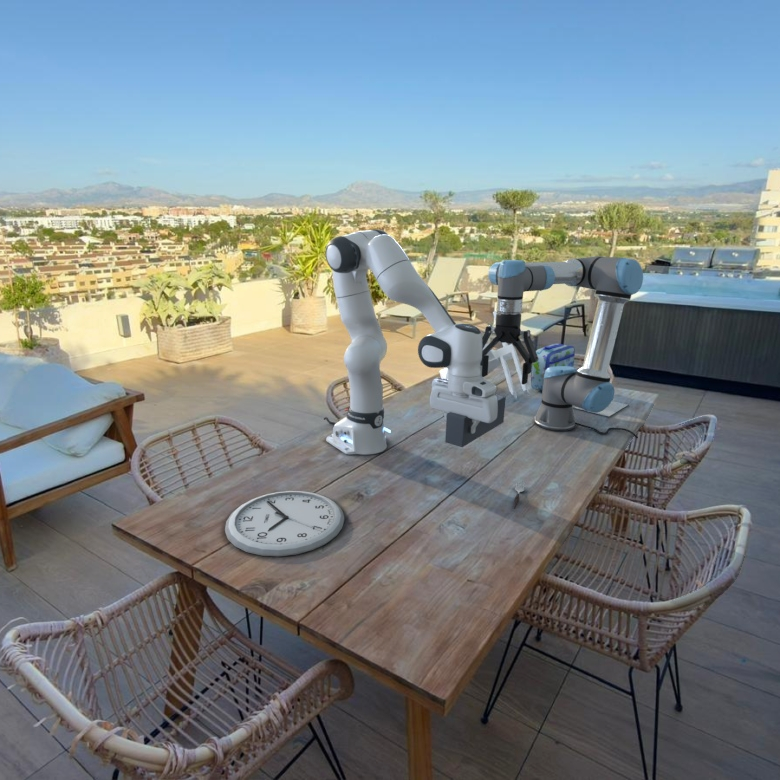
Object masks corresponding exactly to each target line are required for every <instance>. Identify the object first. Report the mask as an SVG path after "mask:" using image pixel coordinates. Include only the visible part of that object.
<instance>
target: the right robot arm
mask: <svg viewBox="0 0 780 780" xmlns="http://www.w3.org/2000/svg"><path fill="white" fill-rule="evenodd" d="M487 276H488V281H489V282H490V283H491V284H492V285H495V286H497V295H496V296H497V297H496V298H497V299H496V313H497V314H496V321H495V326H493V325H491V324H490V325H488V326H485V330H484V334H483V335H482V343H483V346H482V360H481V363H480V366H482V377H483V378H485V377H486V376H488V375H489V374H488V360H489V356H488V355H486V354H487V353H488V352H489V351H490V350H491V349H492V350H493V348H494V347H496V346H497V344H498V343H501V344H502V343H504V342H506V343H507V344H508V345H510V344H512V345H513V346H514V348H515V349H516V351H518V353H519V354H520V356H521V357H522V359H523V361H524V362H523V364H522V371H523V373H522V384H528V380H529V375H530V374H531V372H532V363H535V362H537V361H538V360H539V359H538V356H537V353H536V351H537V350H536V348H535V345H534V343H533V340H532V338H531V330H530V329H528V330H522V329H521V325H522V314H521V312H523V300H524V299H523V298H524V292H535V291H536V292H537V291H540V292H542V291H545V290H549V289H550V288H552V286H554V285H566V286H568V287H579V288H585V289H589V290H595V292H594V296H595V298H596V300H597V304H596V308H595V311H594V316H593V322H592V324H591V325H592V326H591V330H590V333H589V338H588V342H587V345H586V351H585V353H584V359H583V363H582V366H581V367H580V368H578V369H577V367H574V366H573V367H569V366H555V367H549V368H547V369H546V370H545V375H544V378H543V379H544V380H543V390H541V391H542V392H541V402H540V405H539V407H538V410H537V411H536V413H535V415H534V417H533V418H534V424H535V425H536V426H537V427H539V428H542V429H544V430H549V431H556V432H567V431H572V430H574V429H575V428H576V426H580V427H583V428H586V429H590V430H593V431H595V432H597V434H599V435H607V434H609V432H610V431H612V430H613V431H624V432H628V433H629V434H631V435H632V436H634V438H635V439H639V437H638V435H637V434H636V433H634V432H633V431H632V430H630V429H628V428H624V427H608V428H607V429H606V431H600V430H599V429H597V428H596V427H592V426H590V425H586V424H582V423H579V422H576V418H575V417H576V416H575V413H574V407H579V408H582V409H584V410H585V411H584V410H583V411H584V412H588V411H591V412H590V413H592V412H595V413H594V414H596V413H597V412H601V411H603V410H604V409H605V408H606V407H608V406H609V404H610V403H611V401H613V399H614V396H615V387H614V385H613V384H612V383H611V379H612V378H611V375H610V373H609V368H610V363H611V359H612V355H613V351H614V348H615V343H616V340H617V335H618V331H619V327H620V324H621V319H622V315H623V312H624V307H625V305H626V304H627V303H628V302H630V301H631V298H632V295H635V294H637V293H638V292H639V290H641V288H642V286H643V283H644V271H643V268H642V265H641V264H640V262H639V261H638V260H636V259H633V258H627V257H616V256H600V255H599V256H598V255H597V256H587V257H586V256H585V257H579V258H578V257H577V258H570V259H567V260H566V261H544V262H543V261H542V262H541V261H539V262H525V261H524V260H521V259H505V260H502V261H500V262H494V263H493V264H492V265H491V266H490V267H489V269H488V275H487ZM493 333H494V334H495V337H494V338H493V339H492V340H491V342H489V343H488V341H489V339H490V337H491V336H492V334H493ZM520 336H521V338H523V341H524V344H525V346H524V345H523V343H522V340H521V338H520ZM487 343H488V344H489V345H488V346H487V347H486V348H485V349H484V350H483V348H484V346H485V344H487ZM573 406H574V407H573Z"/></svg>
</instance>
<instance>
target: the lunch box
mask: <svg viewBox="0 0 780 780" xmlns="http://www.w3.org/2000/svg"><path fill="white" fill-rule="evenodd" d="M535 351H536V353H537V356H538V359H539V360H538V361H537V362H535V363H532V368H531V373H530V387H531V389H533V390H539V391H543V380H544V379H543V378H544V375H545V370H546V369H547V368H549V367H555V366H569V367H574V363H575V352H576V351H575V346H573V345H568V344H562V343H553V344H550V345H547V346H546V345H545V346H544V347H541V348H538V349H537V350H535Z"/></svg>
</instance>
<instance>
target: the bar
mask: <svg viewBox="0 0 780 780" xmlns="http://www.w3.org/2000/svg"><path fill="white" fill-rule="evenodd" d="M494 395H495V396H496V397H497V402H498V413H497V418H496V419H495V420H494V421H493V422H491V423H485V422H482V421H480V422H479V423H478V425H477V426H476V430H475V433H473V434H472V433H468V427H469V426H471V425H473V422H472V419H470V418H468V417H467V416H463V415H459V414H456V413H452V412H449V413H447V420H446V419H445V423H446V424H445V439H444V442H445V443H446V444H450V445H452V446H457V447H460V448H464V447H465V446H468V445H469V444H471V443H472V442H474V441H475V440H477V439H479V438H480V437H482V436H483V435H485V434H487V433H489V432H490V431H492V430H493V429H495V428H497V427H498V426H500V425H502V424H503V423H504V419H505V410H506V400H507V399H506V398H507V396H506V395H502V394H498V393H494Z"/></svg>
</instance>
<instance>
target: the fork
mask: <svg viewBox="0 0 780 780" xmlns="http://www.w3.org/2000/svg"><path fill="white" fill-rule="evenodd" d="M516 480H517V481H516V486H515V488H514V489H515V491H516V492H517V494H516V496H515V498H514V506H513V509H514V510H516V507H517V506H518V503H519V502H520V493H523V492H525V490H526V482H524V479H522V480H521V478H520V479H516Z"/></svg>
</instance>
